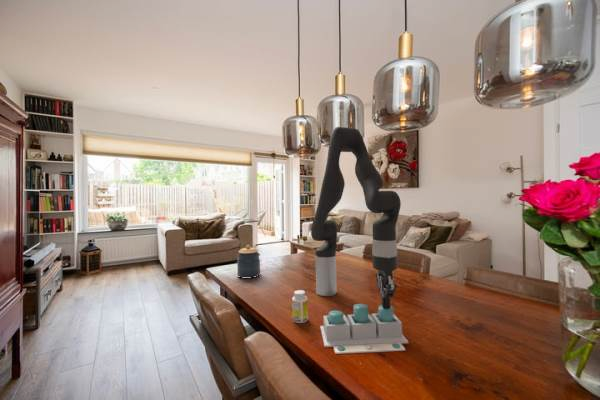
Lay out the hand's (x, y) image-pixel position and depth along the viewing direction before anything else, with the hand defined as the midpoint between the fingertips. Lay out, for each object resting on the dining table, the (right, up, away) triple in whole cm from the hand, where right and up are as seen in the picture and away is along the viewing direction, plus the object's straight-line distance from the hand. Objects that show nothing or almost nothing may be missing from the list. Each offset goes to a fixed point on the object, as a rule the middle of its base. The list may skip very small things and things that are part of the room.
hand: (386, 307), depth 86 cm
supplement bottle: (-27, -9, +11) cm, 31 cm away
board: (-8, -9, 0) cm, 12 cm away
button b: (-8, -6, 0) cm, 10 cm away
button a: (-16, -8, 0) cm, 18 cm away
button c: (0, -6, 0) cm, 6 cm away
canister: (-56, -9, +68) cm, 89 cm away
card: (-7, -9, -8) cm, 14 cm away
